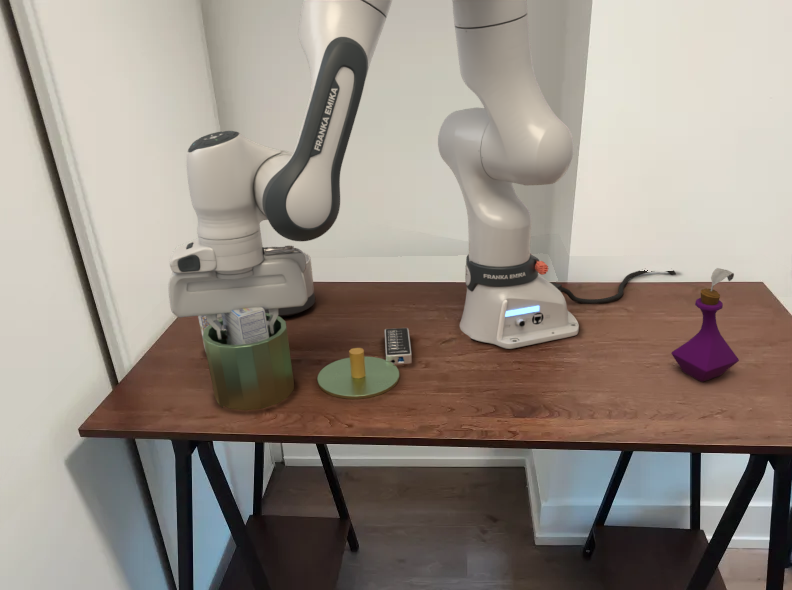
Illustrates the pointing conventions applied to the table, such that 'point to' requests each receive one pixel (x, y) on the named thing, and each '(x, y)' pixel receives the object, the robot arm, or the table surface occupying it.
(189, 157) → the robot arm
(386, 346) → the multiport hub
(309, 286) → the planter
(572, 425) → the table surface
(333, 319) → the table surface
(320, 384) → the tin lid
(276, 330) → the tin
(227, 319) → the medicine box
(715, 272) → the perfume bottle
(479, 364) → the table surface
